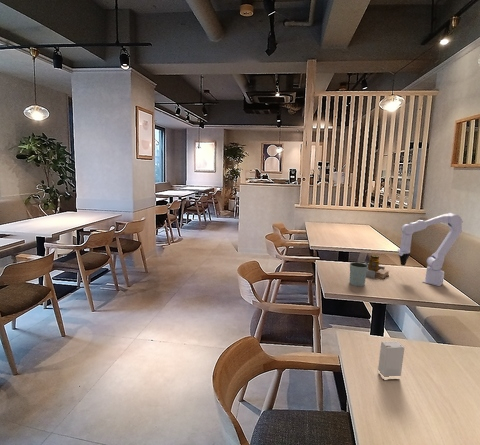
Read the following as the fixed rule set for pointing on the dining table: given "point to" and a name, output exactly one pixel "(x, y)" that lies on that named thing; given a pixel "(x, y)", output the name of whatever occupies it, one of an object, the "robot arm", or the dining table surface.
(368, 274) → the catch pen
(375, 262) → the condiment
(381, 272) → the tan rectangular block
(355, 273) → the green tapered cup
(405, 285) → the dining table surface
